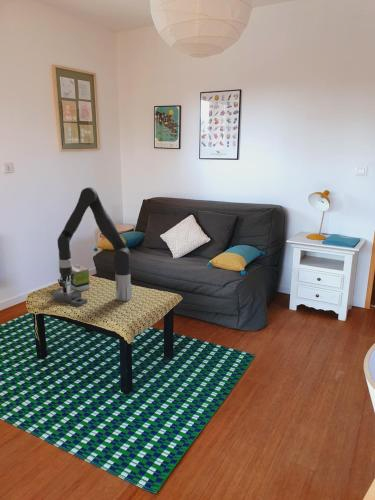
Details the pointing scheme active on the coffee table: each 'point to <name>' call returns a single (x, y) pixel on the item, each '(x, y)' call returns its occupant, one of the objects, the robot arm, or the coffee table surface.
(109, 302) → the coffee table surface
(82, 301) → the gray square frame
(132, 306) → the coffee table surface
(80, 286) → the tea box
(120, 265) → the robot arm
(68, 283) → the plug
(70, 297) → the port
